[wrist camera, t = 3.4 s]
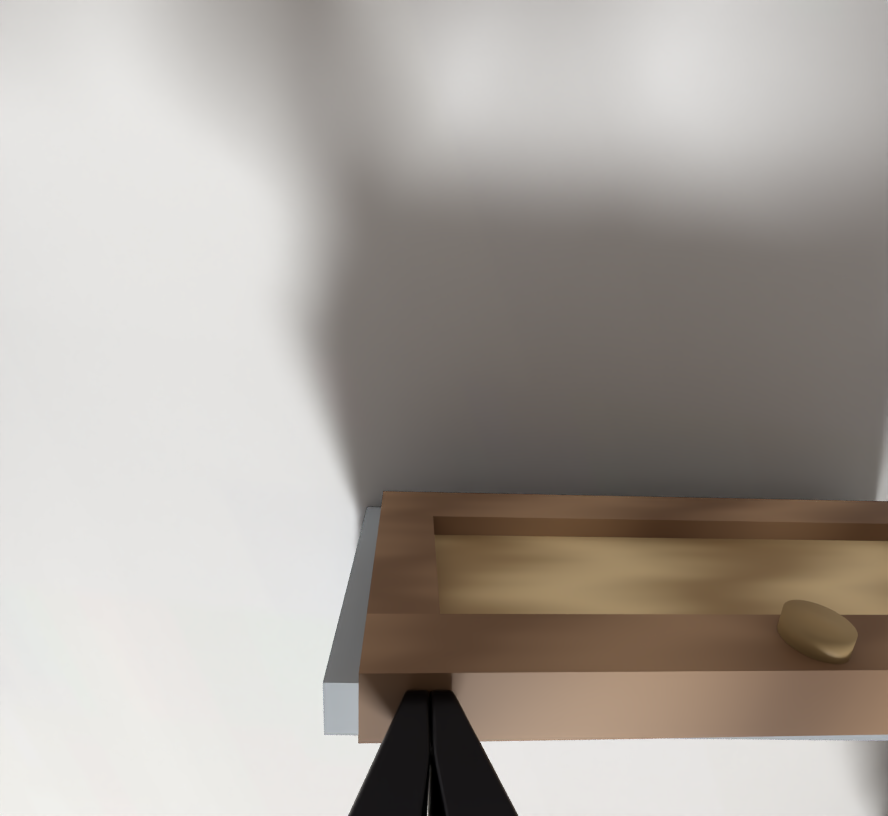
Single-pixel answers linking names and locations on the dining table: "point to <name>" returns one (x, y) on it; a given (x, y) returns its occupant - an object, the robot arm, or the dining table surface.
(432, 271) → the dining table surface
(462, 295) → the dining table surface
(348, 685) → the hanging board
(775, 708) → the wooden serving tray
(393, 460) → the dining table surface
